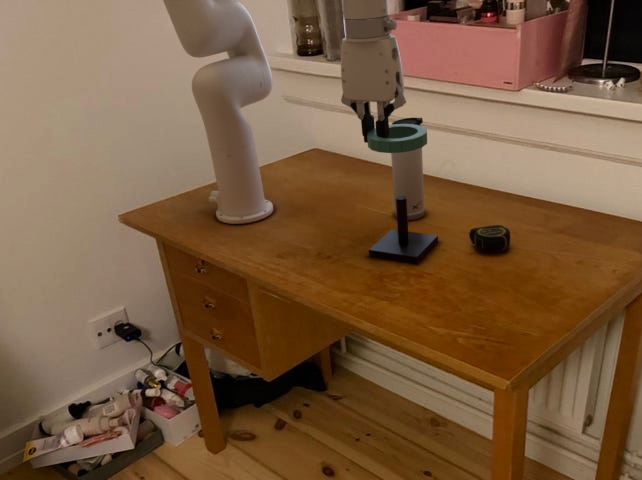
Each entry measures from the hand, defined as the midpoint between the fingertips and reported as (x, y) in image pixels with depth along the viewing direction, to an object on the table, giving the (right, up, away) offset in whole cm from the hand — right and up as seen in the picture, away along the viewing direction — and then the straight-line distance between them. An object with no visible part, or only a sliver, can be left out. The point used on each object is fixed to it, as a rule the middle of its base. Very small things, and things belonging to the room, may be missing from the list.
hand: (376, 140), depth 125 cm
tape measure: (+21, -18, +8) cm, 29 cm away
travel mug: (+7, -9, +24) cm, 26 cm away
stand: (+5, -18, +10) cm, 21 cm away
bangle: (+4, -1, -2) cm, 4 cm away
